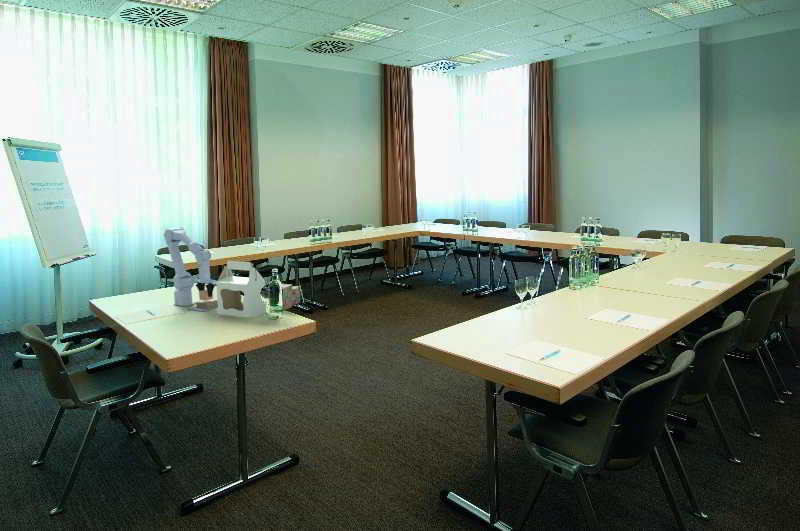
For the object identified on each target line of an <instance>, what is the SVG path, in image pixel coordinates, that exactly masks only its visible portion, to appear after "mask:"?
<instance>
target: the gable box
mask: <svg viewBox="0 0 800 531" xmlns="http://www.w3.org/2000/svg"><path fill="white" fill-rule="evenodd" d="M226 264H227V265H224V266H223V269H222V271H221V272H220V274H219V276H218V278H217V279H216V284H215V286H216V293H217V294H216V295H217V296H216V297H217V298H216V299H217V300H218V308H217V309H218V315H220V316H229V317H239V318H246V319H251V318H255V317H257V316H260V315H263V314H266V313H265V312H266V305H267V303H266V304H265V303H264V301H262V299H261V296H260V292H261V289H262V288H263V287H264V286H265V287H266V280H265V279H264V278H263V276H262V275H261V274H260V273H259V271H258V270H257V268H255V267H254V263H252V262H251V261H240V260H227V263H226ZM232 270H234V271H236V270H238V271H249V273H248V277H243V276H234V274H233V271H232ZM241 292H242V293H243V294H244V295H243V300H242V295H241Z"/></svg>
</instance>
